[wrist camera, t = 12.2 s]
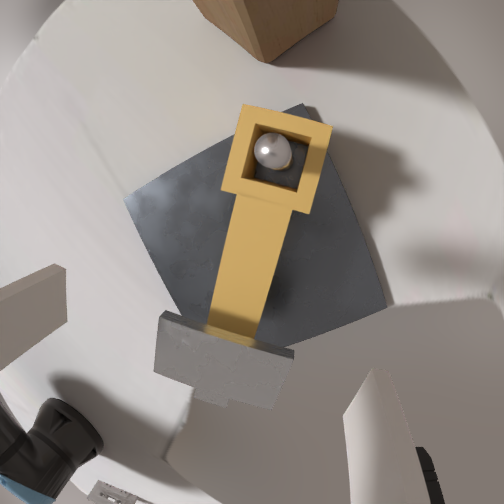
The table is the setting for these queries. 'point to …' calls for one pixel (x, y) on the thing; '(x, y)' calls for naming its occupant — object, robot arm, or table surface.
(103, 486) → the cassette
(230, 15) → the wooden block
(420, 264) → the table surface
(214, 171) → the base
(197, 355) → the block
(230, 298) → the link
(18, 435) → the robot arm
